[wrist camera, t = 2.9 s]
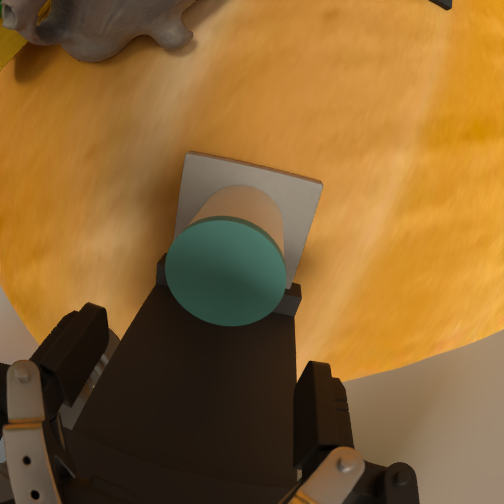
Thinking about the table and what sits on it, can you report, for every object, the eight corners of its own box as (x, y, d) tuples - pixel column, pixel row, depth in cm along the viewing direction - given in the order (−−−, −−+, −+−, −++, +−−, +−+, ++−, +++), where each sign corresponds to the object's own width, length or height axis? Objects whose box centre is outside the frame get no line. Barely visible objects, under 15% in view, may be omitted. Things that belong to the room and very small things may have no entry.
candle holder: (100, 359, 33) (22, 514, 11) (72, 324, 31) (-27, 480, 8) (132, 355, 31) (52, 536, 9) (102, 316, 29) (-7, 503, 7)
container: (206, 174, 20) (170, 207, 13) (294, 195, 20) (302, 238, 14) (193, 253, 23) (162, 310, 16) (272, 271, 23) (268, 336, 16)
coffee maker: (177, 148, 21) (-82, 304, 3) (334, 184, 21) (482, 457, 3) (161, 320, 28) (80, 500, 10) (276, 348, 28) (263, 547, 11)
